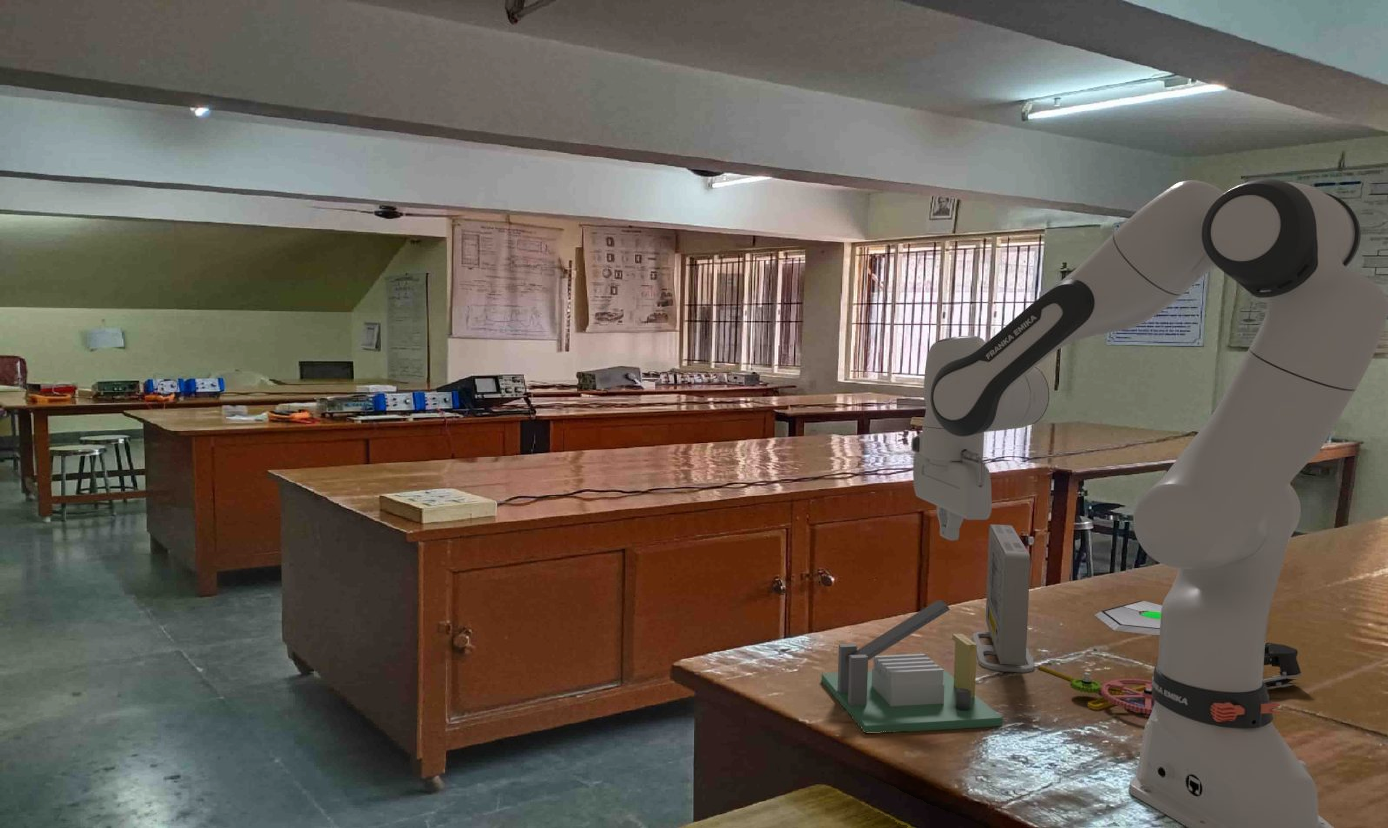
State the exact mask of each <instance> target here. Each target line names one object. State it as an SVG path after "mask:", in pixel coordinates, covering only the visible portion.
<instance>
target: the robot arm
mask: <svg viewBox="0 0 1388 828" xmlns="http://www.w3.org/2000/svg"><path fill="white" fill-rule="evenodd" d="M1361 234H1362V230H1361V226H1360V222H1359V219H1358V217H1357V215H1356V214H1355V212H1354V211H1353V210H1352V208H1351V207H1350V206H1349V205H1348V204H1347V203H1346V202H1345V201H1344V200H1342V199H1341V198H1339V197H1337V196H1336V195H1333V194H1331V193H1328V192H1327V193H1326V192H1323V191H1321V190H1320V189H1318V188H1317V187H1314V186H1311V185H1308V184H1305V183H1301V182H1295V181H1283V180H1279V179H1269V178H1267V179H1266V178H1263V179H1256V180H1250V181H1247V182H1244V183H1241V184H1239V185H1236V186H1234V187H1233V188H1230V189H1228V190H1227V191H1226V192H1224V191H1223V190H1222V189H1220V188H1219V187H1217V186H1215V185H1214V184H1211V183H1208V182H1206V181H1202V180H1197V179H1188V180H1184V181H1179V182H1177V183H1176V184H1173V185H1171V186H1170V187H1169V188H1168V189H1166V190H1164V191H1163V192H1161V193H1160V194H1159V195H1157V196H1156V197H1155V198H1154V199H1152V200H1150V201H1149V202H1147V204H1145V205H1144V206H1143V207H1141V208H1140V209H1139V210H1138V211H1137V212H1135V213H1134V214H1133V215H1132V216H1131V217H1130V218H1129V219H1127V220H1126V221H1125V222H1124V223H1123V224H1121V226H1120V227H1118V229H1116V230H1115V232H1114V233H1113V234H1111V235H1110V236H1109V237H1108V238H1107V239H1106V240H1105V241H1104V242H1103V243H1102V244H1101V245H1100V246H1099V247H1098V248H1097V249H1096V250H1094V252H1093V253H1091V254H1090V255H1089V256H1088V257H1087V258H1086V259H1085V260H1084V261H1083V262H1082V263H1081V264H1080V265H1078V266H1077V267H1076V268H1075V269H1074V270H1073V271H1071V272H1069V274H1068V275H1067V276H1065V277H1063V279H1062V280H1060V281H1059V282H1058V283H1057V284H1056V285H1054V286H1053V287H1052V288H1050V289H1049V290H1047V292H1046V293H1044V294H1042V296H1040V297H1039V298H1038V299H1036V300H1035V301H1034V302H1033V303H1031V304H1030V305H1029V306H1028V307H1027V308H1025V309H1024V310H1023V311H1022V312H1021V313H1020V314H1018V315H1017V316H1016V317H1015V318H1013V320H1011V321H1010V322H1009V323H1008V324H1007V325H1005V327H1003V328H1002V329H1001V330H1000V331H998V332H997V333H996V334H994V336H992V338H990V339H989V340H987V342H986V341H985V339H983V338H982V337H980V336H976V335H961V336H950V337H945V338H942V339H940V340H937V341H936V342H934V343H932V344H931V346H930V348H929V350H928V352H927V353H928V354H927V356H926V362H925V367H924V380H923V399H924V400H923V401H924V404H925V415H924V418H923V421H922V427H921V429H922V431H921V432H920V433H919V434H918V435H916V436H914V437H912V439H911V442H910V447H911V448H910V449H911V452H914V453H915V454H914V455H913V462H912V463H913V464H912V466H913V469H912V470H913V472H912V473H913V475H912V476H913V477H912V478H913V480H912V481H913V490H914V493H915V496H916V497H917V498H919V499H921V500H923V501H925V502H927V503H930V504H932V505H934V506H936V516H937V519H938V523H939V536H940V537H942V538H944V539H946V540H948V541H958V540H959V538H960V529H961V526H962V524H963V522H964V519H965V520H967V521H978V520H979V521H982V520H985V521H986V520H988V519H989V518H990V516H991V514H992V504H993V502H992V500H993V499H992V481H991V472H990V470H989V468H988V467H987V466H986V463H984V461H983V459H984V449H985V448H984V443H985V432H986V433H989V432H997V431H1007V430H1015V429H1021V428H1026V427H1029V426H1031V425H1033V424H1036V423H1037V422H1038V421H1040V419H1042V418H1043V416H1044V415H1045V413H1046V412H1047V409H1048V406H1049V401H1050V388H1049V385H1048V381H1047V379H1046V377H1045V374H1043V372H1042V371H1041V370H1040V369H1039V368H1038V367H1037V366H1038V365H1040V364H1041V363H1042V362H1043V361H1044V360H1045V359H1048V357H1050V356H1051V355H1052V354H1054V353H1055V352H1056V351H1058V350H1059V349H1060V350H1061V348H1063V347H1065V346H1067V345H1070V344H1072V343H1074V342H1077V341H1080V340H1085V339H1087V338H1091V337H1094V336H1099V335H1103V334H1108V333H1113V332H1119V331H1120V332H1121V331H1124V330H1129V329H1133V328H1136V327H1139V326H1140V325H1142V324H1143V323H1145V322H1147V321H1149V320H1151V319H1152V318H1154V317H1156V316H1157V315H1158V314H1160V313H1162V312H1163V311H1164V310H1166V309H1167V308H1168V307H1169V306H1171V305H1172V304H1173V303H1175V302H1176V301H1177V300H1178V299H1179V298H1180V297H1181V296H1183V294H1185V293H1186V292H1187V291H1189V289H1190V288H1191V287H1192V286H1193V285H1195V284H1196V283H1197V282H1198V281H1199V280H1200V279H1202V278H1203V277H1204V276H1205V275H1207V274H1209V272H1211V271H1213V270H1215V269H1217V268H1218V269H1220V270H1221V272H1223V273H1225V275H1227V276H1228V277H1230V278H1231V279H1232V280H1233V281H1235V282H1236V283H1237V284H1239V285H1240V286H1241V287H1242V288H1244V289H1245V291H1247V292H1248V293H1249V294H1251V295H1252V296H1254V297H1255V298H1258V299H1260V298H1261V299H1263V298H1264V299H1266V311H1265V315H1264V318H1263V320H1262V323H1261V325H1260V327H1259V329H1258V331H1257V333H1256V335H1255V337H1254V338H1253V340H1252V342H1251V344H1250V346H1249V348H1248V349H1247V351H1246V353H1245V356H1243V359H1242V361H1241V362H1240V364H1239V366H1238V368H1237V370H1236V372H1235V374H1234V376H1233V378H1232V379H1231V382H1230V383H1229V385H1228V387H1227V389H1226V390H1225V392H1224V394H1223V397H1222V398H1221V400H1220V401H1219V403H1218V404H1217V407H1216V408H1215V409H1214V411H1213V413H1212V414H1211V416H1210V417H1209V418H1208V420H1207V421H1206V423H1205V424H1204V425H1203V426H1202V427H1201V429H1200V430H1199V431H1198V432H1197V434H1195V436H1194V437H1193V439H1192V440H1191V441H1190V442H1189V444H1188V445H1186V447H1185V448H1184V450H1183V451H1182V452H1181V453H1180V455H1179V456H1178V458H1177V459H1176V460H1175V461H1174V462H1173V464H1172V465H1171V467H1170V468H1169V469H1168V471H1166V473H1165V474H1164V475H1163V476H1162V477H1161V479H1160V480H1158V481H1157V482H1156V483H1155V484H1154V485H1153V486H1152V487H1151V488H1149V490H1147V491H1146V492H1144V494H1143V495H1142V496H1141V497H1140V499H1139V500H1138V502H1137V504H1136V506H1135V508H1134V512H1133V518H1132V520H1133V521H1132V522H1133V523H1132V524H1133V532H1134V534H1135V538H1136V539H1137V543H1139V545H1140V547H1141V548H1142V549H1143V551H1144V552H1145V553H1146V554H1147V555H1148V556H1149V557H1150V558H1151V559H1153V560H1154V561H1156V562H1157V563H1158V564H1159V563H1160V564H1162V565H1164V566H1166V567H1170V568H1177V569H1178V571H1177V574H1176V577H1175V580H1174V582H1173V584H1172V587H1171V588H1170V590H1169V592H1168V593H1167V595H1166V596H1165V598H1164V600H1163V602H1162V608H1161V623H1160V635H1159V640H1158V642H1159V643H1158V644H1159V645H1158V659H1157V660H1158V661H1157V664H1156V665H1154V668H1153V675H1152V677H1151V681H1152V686H1153V687H1152V696H1153V698H1154V699H1155V703H1154V707H1153V709H1152V712H1151V714H1149V717H1148V719H1147V720H1146V722H1145V724H1144V729H1143V735H1142V742H1141V746H1140V747H1141V748H1140V753H1139V758H1138V759H1139V760H1138V766H1137V771H1136V776H1135V777H1134V778H1132V779H1131V780H1130V782H1129V786H1128V792H1129V794H1131V795H1132V796H1134V797H1135V798H1137V799H1139V800H1141V801H1142V802H1144V803H1145V804H1147V805H1149V806H1151V807H1153V808H1154V809H1156V810H1157V811H1159V812H1161V813H1163V814H1164V815H1166V816H1168V817H1169V818H1171V819H1173V820H1174V821H1177V822H1178V823H1180V824H1181V825H1183V826H1185V827H1187V828H1335V827H1334V826H1332V825H1331V824H1330V823H1329V822H1328V821H1326V820H1325V819H1324V818H1323V817H1322V816H1320V815H1319V805H1318V803H1319V802H1318V801H1319V799H1318V792H1317V787H1316V784H1315V780H1314V779H1313V778H1312V776H1311V775H1310V771H1309V767H1308V765H1307V764H1306V763H1305V761H1303V760H1299V759H1298V757H1297V756H1296V754H1295V753H1294V752H1293V750H1292V749H1291V748H1290V746H1289V745H1288V744H1287V742H1286V740H1284V738H1283V737H1282V735H1281V734H1280V733H1279V731H1278V730H1277V728H1276V727H1275V726H1274V724H1273V720H1274V716H1273V714H1280V710H1275V709H1276V708H1277V707H1281V703H1279V702H1272V703H1271V701H1270V695H1269V693H1268V689H1266V688H1267V686H1266V685H1267V684H1266V683H1265V682H1263V681H1262V680H1263V678H1264V666H1265V665H1264V653H1265V644H1266V641H1267V639H1266V638H1267V629H1268V621H1269V614H1270V610H1271V605H1272V603H1273V598H1274V594H1275V591H1276V588H1277V584H1278V582H1279V578H1280V574H1281V572H1282V571H1281V570H1282V567H1283V564H1284V559H1285V555H1286V551H1287V548H1288V545H1289V542H1290V539H1291V537H1292V535H1293V534H1294V533H1295V530H1296V529H1297V527H1298V525H1299V522H1300V519H1301V514H1302V512H1301V511H1302V509H1301V508H1302V507H1301V501H1300V499H1299V496H1298V493H1297V492H1296V490H1295V488H1294V487H1293V486H1292V485H1291V484H1290V483H1291V482H1292V481H1293V479H1294V478H1295V477H1296V476H1297V475H1298V474H1299V473H1300V472H1301V471H1302V470H1303V469H1304V468H1305V466H1306V465H1307V464H1308V463H1309V462H1311V461H1312V460H1313V459H1314V458H1315V457H1316V456H1317V455H1318V454H1319V452H1320V451H1321V450H1322V448H1323V446H1324V444H1326V443H1325V442H1326V441H1327V439H1328V438H1329V436H1330V435H1331V432H1332V431H1333V429H1334V428H1335V425H1336V424H1337V423H1338V421H1339V419H1340V418H1341V415H1342V414H1343V412H1344V411H1345V409H1346V407H1347V406H1348V404H1349V402H1350V401H1351V399H1352V398H1353V395H1354V394H1355V392H1356V391H1357V388H1358V386H1359V385H1360V383H1361V381H1362V380H1363V378H1364V376H1365V375H1366V372H1367V370H1368V368H1369V365H1370V364H1371V362H1372V360H1373V357H1374V355H1375V353H1376V351H1377V348H1378V346H1379V343H1380V340H1381V338H1382V335H1383V332H1384V329H1385V327H1386V323H1387V321H1388V296H1387V294H1386V292H1384V290H1383V289H1382V287H1380V286H1379V285H1378V284H1377V283H1376V282H1374V281H1373V280H1372V279H1370V278H1369V277H1367V276H1364V275H1363V274H1361V273H1359V272H1355V271H1352V270H1350V269H1349V268H1347V267H1348V265H1350V263H1351V262H1352V261H1353V259H1354V258H1355V256H1356V254H1357V252H1358V250H1359V248H1360V247H1359V246H1360V245H1361V239H1362V237H1361V236H1362V235H1361ZM1274 708H1275V709H1274ZM1272 709H1273V710H1272Z"/></svg>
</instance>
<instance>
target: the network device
mask: <svg viewBox="0 0 1388 828" xmlns="http://www.w3.org/2000/svg"><path fill="white" fill-rule="evenodd" d="M988 529H989V530H988V531H989V532H988V551H987V552H988V554H987V555H988V556H987V557H988V559H987V578H986V597H985V598H986V602H985V605H986V606H985V621H986V622H985V623H986V625H987V629H988V631H976V632H974V633H973V634H972V641H973V642H974V643H976V644H977V654H976V658H977V661H978V664H979V665H980V666H981V667H982V668H984V669H987V670H992V671H997V672H998V671H1001V672H1010V673H1011V672H1012V673H1013V672H1014V673H1029V672H1033V671H1034V670H1035V667H1036V666H1035V662H1034V660H1033V657H1032V655H1031V652H1030V651H1029V648H1028V646H1027V644H1028V641H1027V639H1028V620H1029V619H1028V618H1029V617H1028V616H1029V598H1030V597H1029V596H1030V595H1029V594H1030V575H1031V555H1030V553H1029V551H1028V549H1027V548H1026V546H1025V545H1024V543H1023V542H1022V540H1021V538H1020V536H1019V535H1018V533H1017V532H1016V530H1015V528H1014V527H1013V525H1008V524H989V528H988ZM982 637H983V638H991V640H992V644H993V645H989V644H988V645H987V644H983V643H981V641H980V638H982ZM985 655H993V656H994V655H996V656H997V658H998V661H999V663H998V664H997V663H996V664H995V663H989V662H987V661H986V658H985Z"/></svg>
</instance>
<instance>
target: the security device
mask: <svg viewBox="0 0 1388 828" xmlns="http://www.w3.org/2000/svg"><path fill="white" fill-rule="evenodd" d="M1162 605H1163V604H1162ZM1162 605H1161V604H1157V603H1153V602H1150V601H1145V600H1139V601H1133V602H1131V603H1126V604H1123V605H1120V606H1117V607H1112V608H1108V609H1104V610H1101V611H1099V612H1097V613H1095V614H1094V617H1096V618H1097V619H1098V620H1099V621H1101V622H1103V623H1104V624H1105V625H1107V626H1108V627H1109V628H1110V629H1112V630H1113V631H1115V632H1124V633H1125V632H1126V633H1134V634H1135V633H1136V634H1144V635H1153V636H1160V623H1161V608H1162Z"/></svg>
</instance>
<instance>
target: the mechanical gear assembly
mask: <svg viewBox="0 0 1388 828" xmlns="http://www.w3.org/2000/svg"><path fill="white" fill-rule="evenodd" d="M1037 669H1038V670H1040V671H1043V672H1046V673H1048V674H1051V675H1053V676H1056V677H1059V678H1061V679H1065V680H1067V681H1070V682H1069V684H1070V687H1071V688H1072V689H1073V690H1076V692H1077V691H1078V692H1079V691H1080V692H1081V693H1088V694H1090V693H1091V694H1094V693H1095V694H1098V693H1099V694H1100V695H1101V697H1100V698H1097V699H1094V700H1090V701H1088V702H1087V708H1088V709H1090V710H1094V711H1099V710H1102V709H1105V708H1108V707H1112V706H1118V707H1121V708H1122V709H1126V710H1129V711H1133V712H1138V713H1143V714H1147V715H1151V712H1152V709H1153V707H1154V703H1155V699H1154V698H1153V696H1152V687H1153V686H1152V680H1149V679H1148V680H1147V679H1142V678H1140V679H1139V678H1136V679H1135V678H1126V677H1125V678H1114V679H1109V680H1106V681H1105V682H1104V681H1103V682H1102V683H1100V681H1096V680H1093V679H1090V678H1091V674H1090V672H1089V673H1088V672H1084V673H1083V678H1075V677H1072V676H1070V675H1067V674H1064V673H1061V672H1059V671H1056V670H1053V669H1051V668H1048V667H1045V666H1042V665H1038V666H1037ZM1125 685H1139V686H1137V687H1133V688H1129V687H1126V686H1125Z"/></svg>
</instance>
